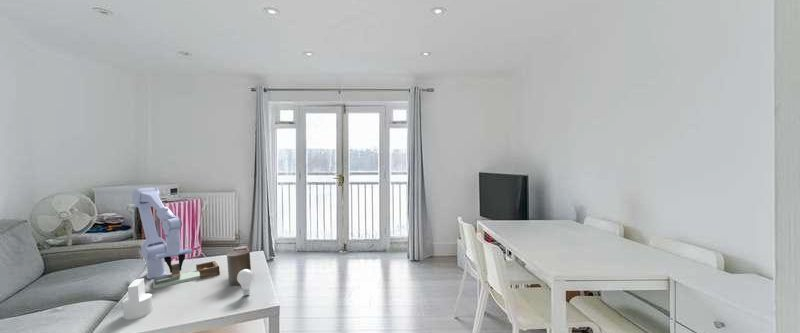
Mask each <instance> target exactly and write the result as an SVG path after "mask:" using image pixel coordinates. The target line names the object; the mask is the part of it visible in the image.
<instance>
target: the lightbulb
mask: <svg viewBox="0 0 800 333" xmlns="http://www.w3.org/2000/svg"><path fill="white" fill-rule="evenodd" d="M254 276H255V275H254V273H253V270H252V269H251V270H249V269H243V270H241V271H240V272H239V273H238V275H237V281H238V282H239V284H240V285H239V286H240V287H241V289H242V295H243V296H244V297H245V296H246V297H247V296H249V295H250V294H251V289H250V288H251V284H252V282H253V281H254Z"/></svg>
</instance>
